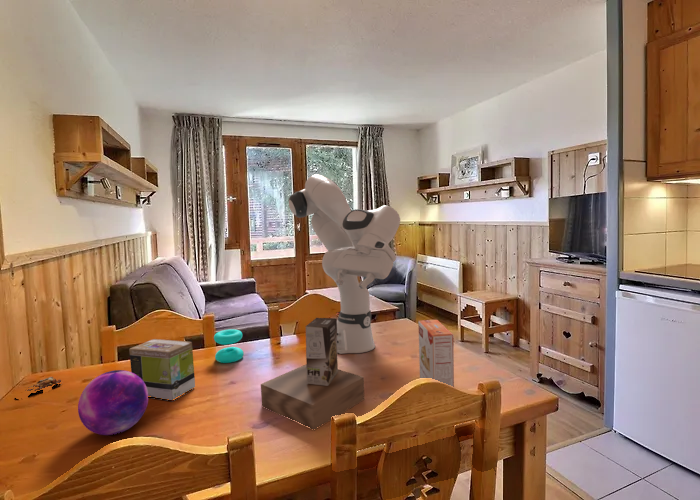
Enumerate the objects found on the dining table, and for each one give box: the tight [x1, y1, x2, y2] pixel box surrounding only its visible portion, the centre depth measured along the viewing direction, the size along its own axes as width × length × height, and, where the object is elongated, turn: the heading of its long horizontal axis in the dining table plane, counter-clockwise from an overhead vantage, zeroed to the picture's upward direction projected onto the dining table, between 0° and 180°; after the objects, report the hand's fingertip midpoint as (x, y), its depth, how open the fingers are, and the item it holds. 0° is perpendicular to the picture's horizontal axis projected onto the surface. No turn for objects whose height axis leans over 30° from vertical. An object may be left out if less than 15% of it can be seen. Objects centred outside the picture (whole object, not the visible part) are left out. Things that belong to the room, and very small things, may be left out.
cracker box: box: [417, 319, 455, 388], centre depth 110 cm, size 14×6×21 cm, turn 5°
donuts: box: [213, 328, 245, 364], centre depth 147 cm, size 10×10×10 cm
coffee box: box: [305, 317, 339, 386], centre depth 111 cm, size 9×6×16 cm
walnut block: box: [260, 364, 365, 431], centre depth 112 cm, size 20×20×7 cm
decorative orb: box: [77, 369, 149, 436], centre depth 100 cm, size 15×15×15 cm
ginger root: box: [26, 376, 62, 391], centre depth 125 cm, size 7×12×4 cm, turn 161°
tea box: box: [128, 338, 196, 400], centre depth 121 cm, size 15×10×15 cm, turn 71°
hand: (349, 285), depth 119 cm, fingers open, 8 cm apart
